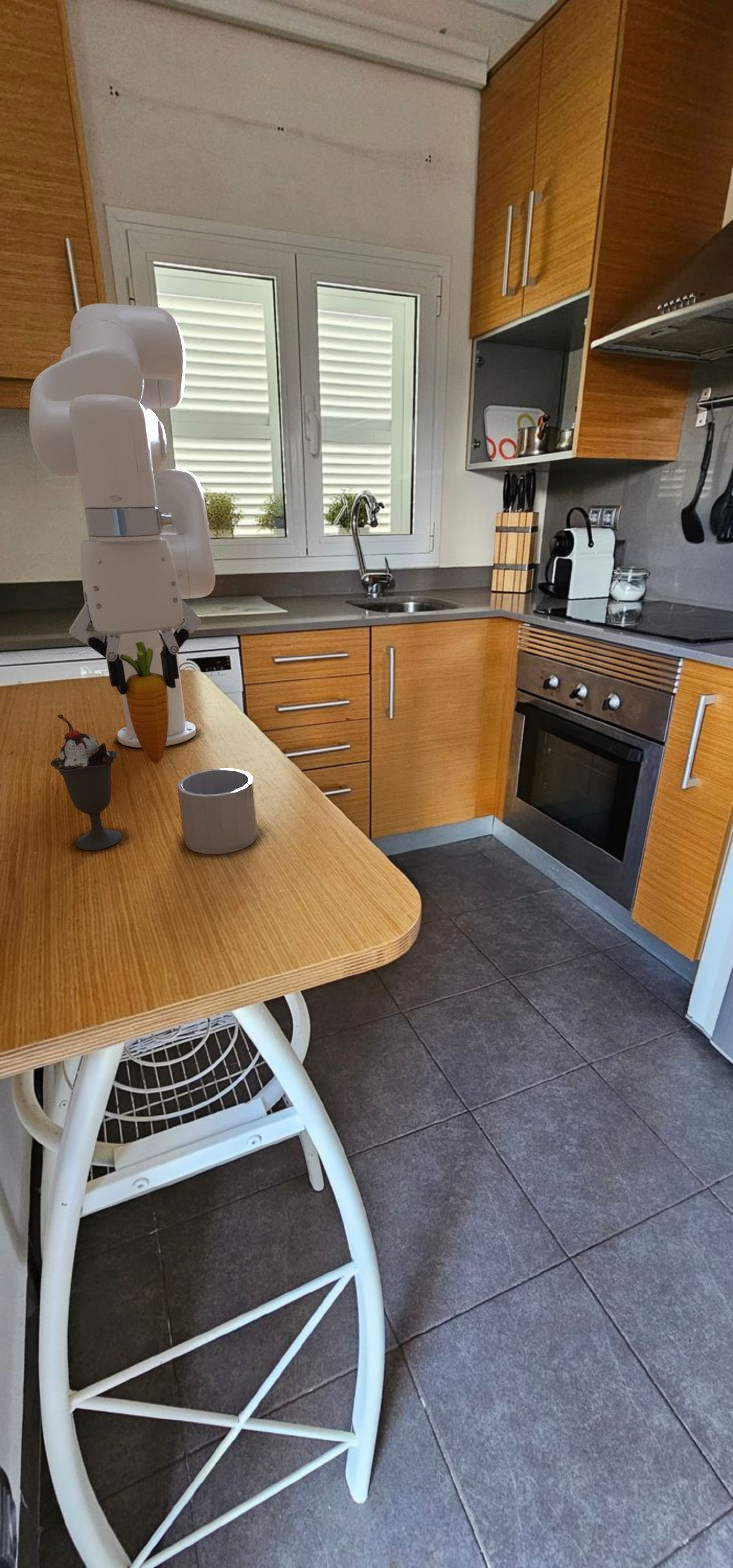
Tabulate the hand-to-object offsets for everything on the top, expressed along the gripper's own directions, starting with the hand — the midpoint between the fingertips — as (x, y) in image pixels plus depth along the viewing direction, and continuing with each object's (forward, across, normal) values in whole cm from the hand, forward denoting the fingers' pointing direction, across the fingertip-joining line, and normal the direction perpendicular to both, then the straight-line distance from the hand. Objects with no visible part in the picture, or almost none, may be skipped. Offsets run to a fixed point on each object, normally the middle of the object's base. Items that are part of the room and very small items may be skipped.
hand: (146, 687), depth 81 cm
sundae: (+16, +9, +7) cm, 19 cm away
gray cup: (+15, -4, +13) cm, 20 cm away
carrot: (+10, 0, 0) cm, 10 cm away
